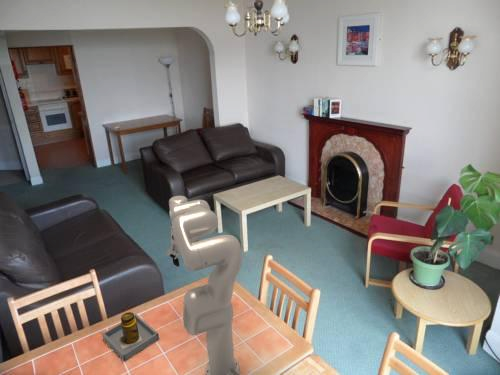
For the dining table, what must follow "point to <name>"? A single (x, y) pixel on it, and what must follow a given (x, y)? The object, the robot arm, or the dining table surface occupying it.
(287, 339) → the dining table surface
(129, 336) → the condiment
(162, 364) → the dining table surface
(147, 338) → the tray
